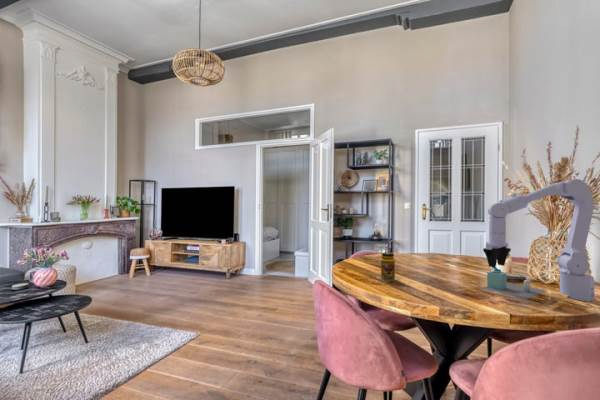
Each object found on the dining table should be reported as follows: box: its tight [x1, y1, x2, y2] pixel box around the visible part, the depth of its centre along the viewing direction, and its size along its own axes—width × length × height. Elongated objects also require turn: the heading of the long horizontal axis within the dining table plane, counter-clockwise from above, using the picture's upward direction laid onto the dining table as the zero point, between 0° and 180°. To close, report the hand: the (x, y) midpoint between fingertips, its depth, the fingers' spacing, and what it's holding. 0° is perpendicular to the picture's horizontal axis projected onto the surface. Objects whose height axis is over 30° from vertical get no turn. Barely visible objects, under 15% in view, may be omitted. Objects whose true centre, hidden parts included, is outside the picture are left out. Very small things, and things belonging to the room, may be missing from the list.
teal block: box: [486, 270, 508, 290], centre depth 124 cm, size 5×5×6 cm
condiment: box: [374, 252, 400, 282], centre depth 142 cm, size 7×8×12 cm
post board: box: [480, 279, 546, 300], centre depth 121 cm, size 16×18×5 cm
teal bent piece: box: [491, 266, 509, 280], centre depth 142 cm, size 11×6×10 cm
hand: (496, 266), depth 124 cm, fingers open, 7 cm apart
